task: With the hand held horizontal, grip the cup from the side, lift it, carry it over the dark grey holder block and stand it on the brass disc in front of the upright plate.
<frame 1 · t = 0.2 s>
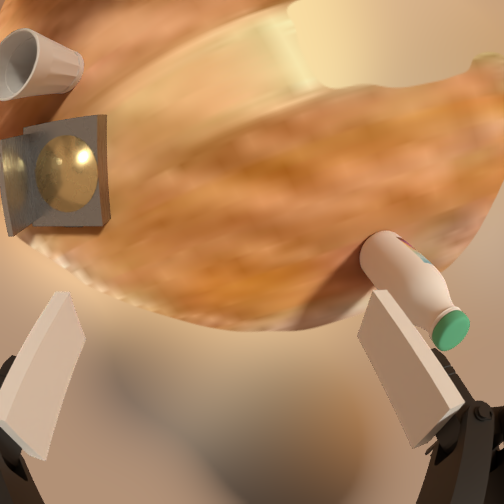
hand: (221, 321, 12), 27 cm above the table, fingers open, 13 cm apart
grey holder block: (69, 170, 33), on the table
milk bottle: (379, 252, 42), on the table
cup: (65, 72, 28), on the table
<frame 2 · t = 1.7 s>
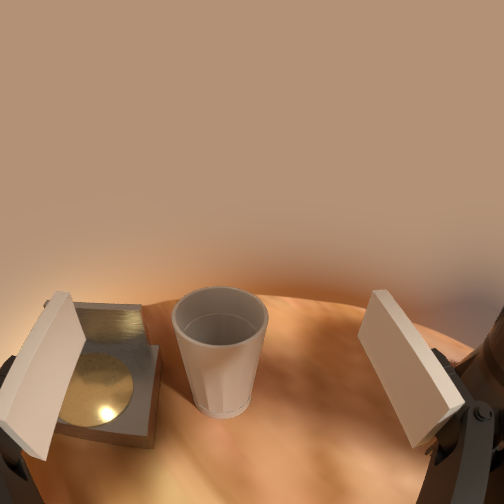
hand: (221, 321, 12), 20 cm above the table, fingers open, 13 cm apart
grey holder block: (99, 396, 27), on the table
cup: (221, 396, 30), on the table
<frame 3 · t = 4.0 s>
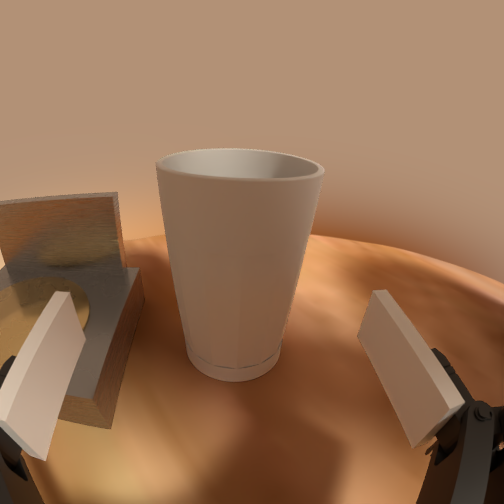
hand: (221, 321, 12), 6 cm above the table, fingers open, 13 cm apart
grey holder block: (44, 342, 17), on the table
cup: (233, 347, 19), on the table
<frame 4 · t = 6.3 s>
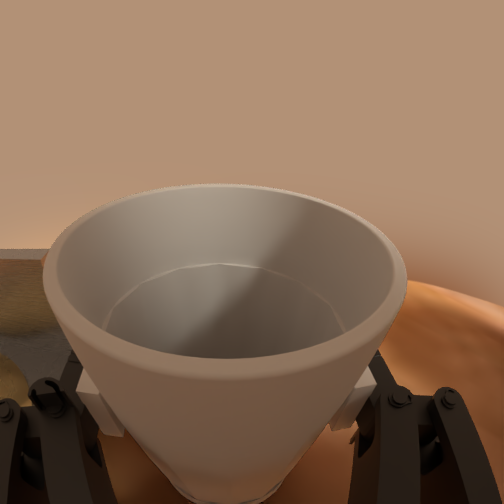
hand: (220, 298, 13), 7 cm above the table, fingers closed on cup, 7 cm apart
cup: (225, 457, 12), on the table, touching gripper
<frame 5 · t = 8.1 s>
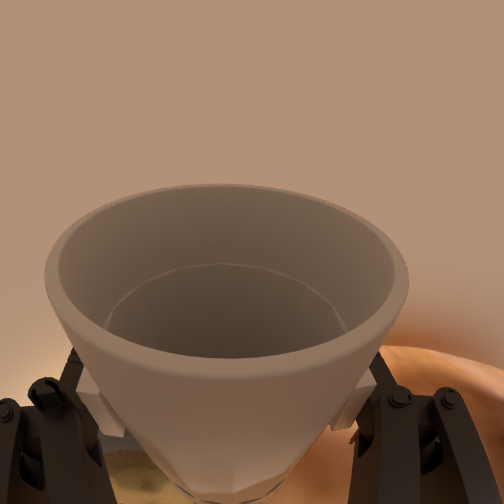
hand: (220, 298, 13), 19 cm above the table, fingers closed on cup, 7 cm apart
grey holder block: (140, 500, 17), on the table
cup: (226, 457, 12), point 12 cm above the table, touching gripper
when the fingers open (11 cm above the table, at t = 10.3 s): cup drops 1 cm, resting on grey holder block.
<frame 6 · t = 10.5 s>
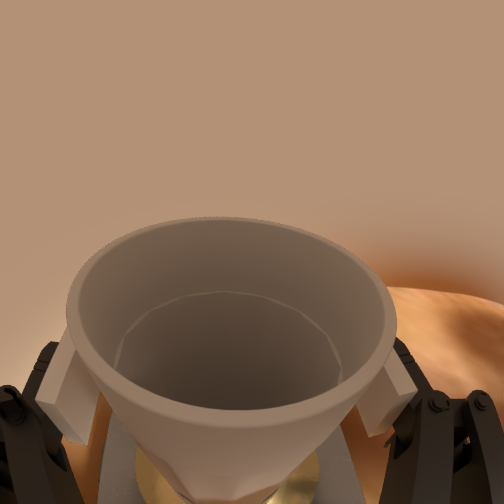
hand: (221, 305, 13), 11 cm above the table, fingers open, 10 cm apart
grey holder block: (226, 467, 15), on the table
cup: (224, 466, 13), point 3 cm above the table, touching grey holder block
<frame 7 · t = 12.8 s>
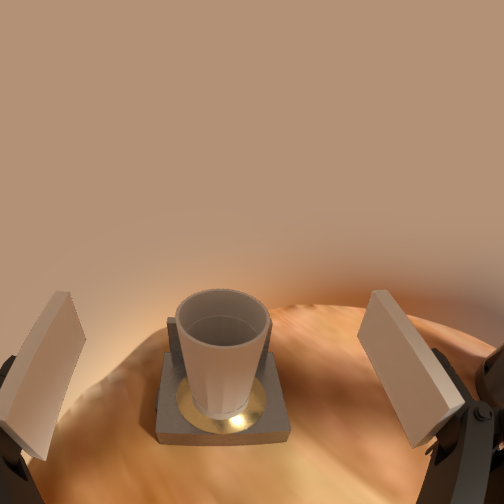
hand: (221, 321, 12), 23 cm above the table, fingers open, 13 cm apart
grey holder block: (220, 404, 32), on the table
cup: (220, 397, 30), point 3 cm above the table, touching grey holder block
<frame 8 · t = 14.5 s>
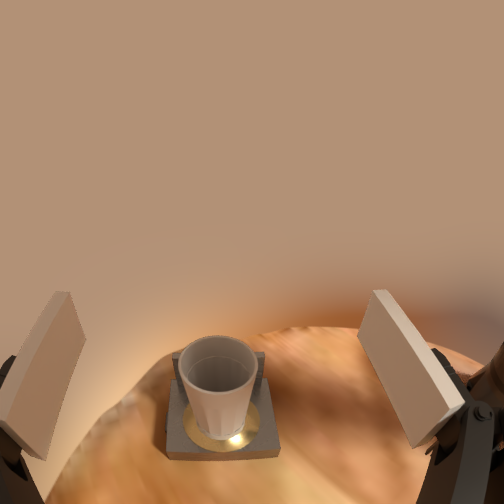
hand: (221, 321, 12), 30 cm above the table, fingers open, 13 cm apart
grey holder block: (221, 424, 36), on the table
cup: (220, 420, 34), point 3 cm above the table, touching grey holder block
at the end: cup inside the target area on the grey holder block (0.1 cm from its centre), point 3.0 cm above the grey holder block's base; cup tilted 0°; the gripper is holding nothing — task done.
